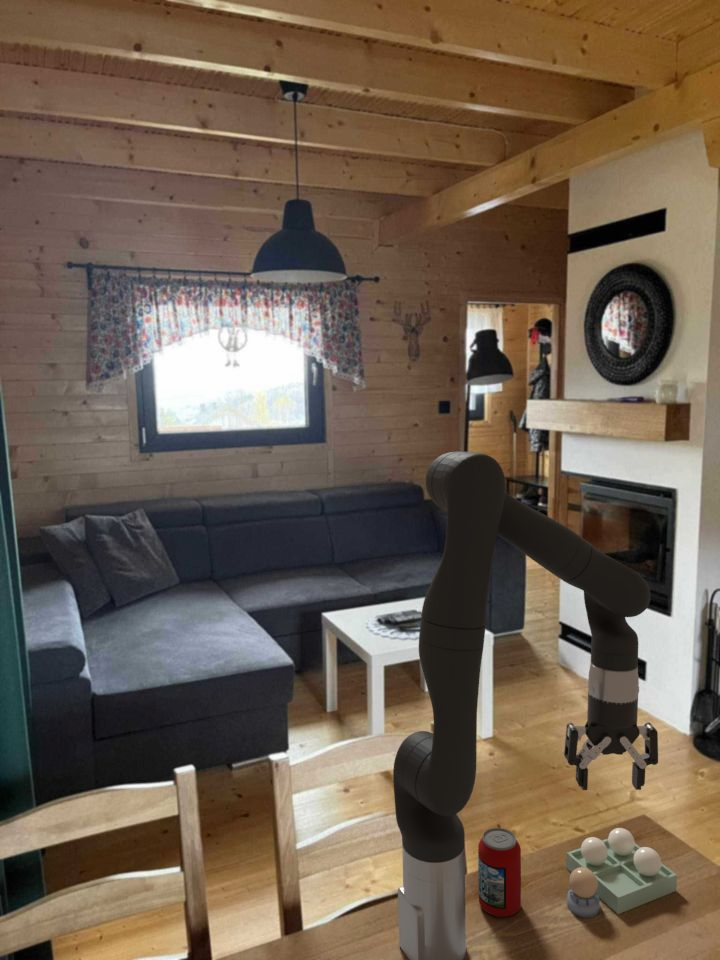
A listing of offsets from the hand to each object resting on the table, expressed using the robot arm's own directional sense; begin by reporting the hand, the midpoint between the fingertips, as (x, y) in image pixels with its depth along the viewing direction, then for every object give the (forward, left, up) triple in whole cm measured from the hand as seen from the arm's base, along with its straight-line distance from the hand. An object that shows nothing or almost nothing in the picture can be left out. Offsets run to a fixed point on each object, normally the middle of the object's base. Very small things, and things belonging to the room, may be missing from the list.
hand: (609, 787), depth 119 cm
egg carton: (+5, +3, -19) cm, 20 cm away
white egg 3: (+8, 0, -17) cm, 19 cm away
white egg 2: (+8, +6, -17) cm, 20 cm away
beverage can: (-17, +6, -20) cm, 27 cm away
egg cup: (-5, 0, -19) cm, 20 cm away
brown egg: (-5, 0, -17) cm, 18 cm away
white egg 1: (+2, +6, -17) cm, 18 cm away
